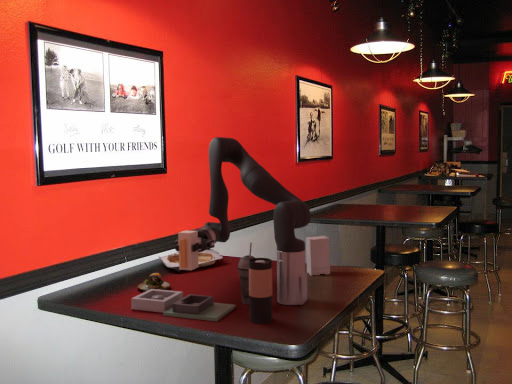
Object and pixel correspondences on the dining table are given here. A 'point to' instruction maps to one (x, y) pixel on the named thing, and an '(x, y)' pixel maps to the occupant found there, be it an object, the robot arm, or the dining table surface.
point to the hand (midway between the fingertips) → (185, 248)
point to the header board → (199, 308)
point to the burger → (154, 283)
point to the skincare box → (318, 255)
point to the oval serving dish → (203, 259)
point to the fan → (155, 300)
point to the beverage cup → (244, 276)
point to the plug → (187, 250)
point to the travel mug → (260, 290)
